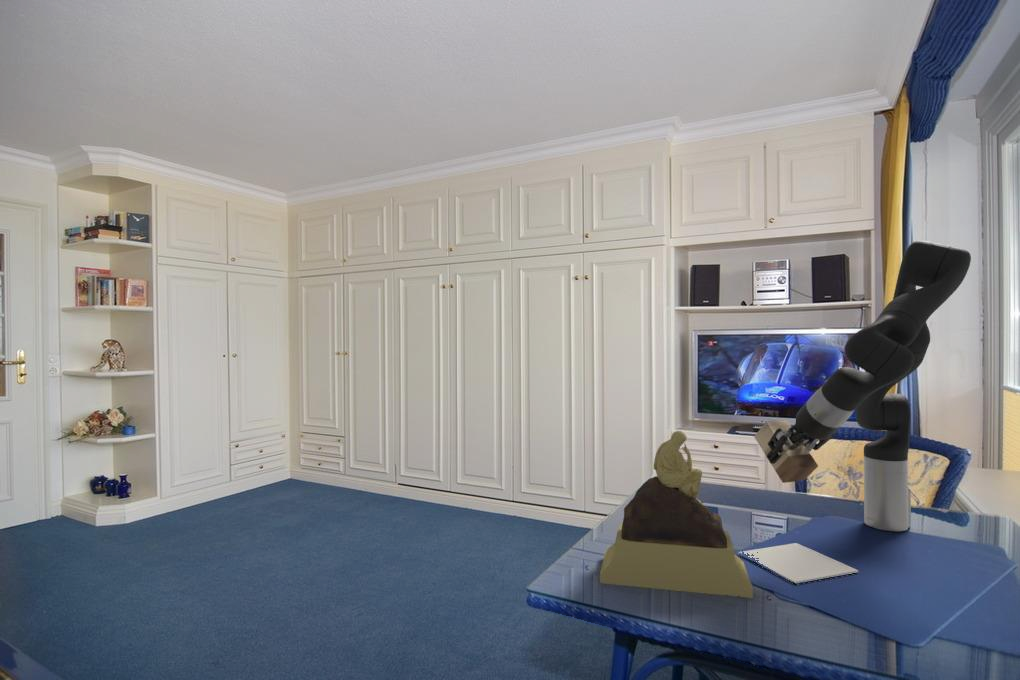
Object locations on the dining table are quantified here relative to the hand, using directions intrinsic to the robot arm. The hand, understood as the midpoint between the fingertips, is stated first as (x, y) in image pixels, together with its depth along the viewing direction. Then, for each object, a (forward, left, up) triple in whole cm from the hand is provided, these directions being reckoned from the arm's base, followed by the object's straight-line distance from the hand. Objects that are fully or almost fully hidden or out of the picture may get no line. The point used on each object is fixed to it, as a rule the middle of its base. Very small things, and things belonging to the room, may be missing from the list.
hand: (781, 458), depth 125 cm
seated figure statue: (+29, +2, -22) cm, 36 cm away
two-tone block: (0, -3, +6) cm, 7 cm away
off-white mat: (+1, +5, -21) cm, 22 cm away
